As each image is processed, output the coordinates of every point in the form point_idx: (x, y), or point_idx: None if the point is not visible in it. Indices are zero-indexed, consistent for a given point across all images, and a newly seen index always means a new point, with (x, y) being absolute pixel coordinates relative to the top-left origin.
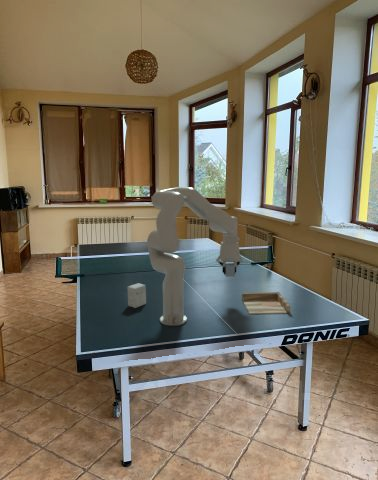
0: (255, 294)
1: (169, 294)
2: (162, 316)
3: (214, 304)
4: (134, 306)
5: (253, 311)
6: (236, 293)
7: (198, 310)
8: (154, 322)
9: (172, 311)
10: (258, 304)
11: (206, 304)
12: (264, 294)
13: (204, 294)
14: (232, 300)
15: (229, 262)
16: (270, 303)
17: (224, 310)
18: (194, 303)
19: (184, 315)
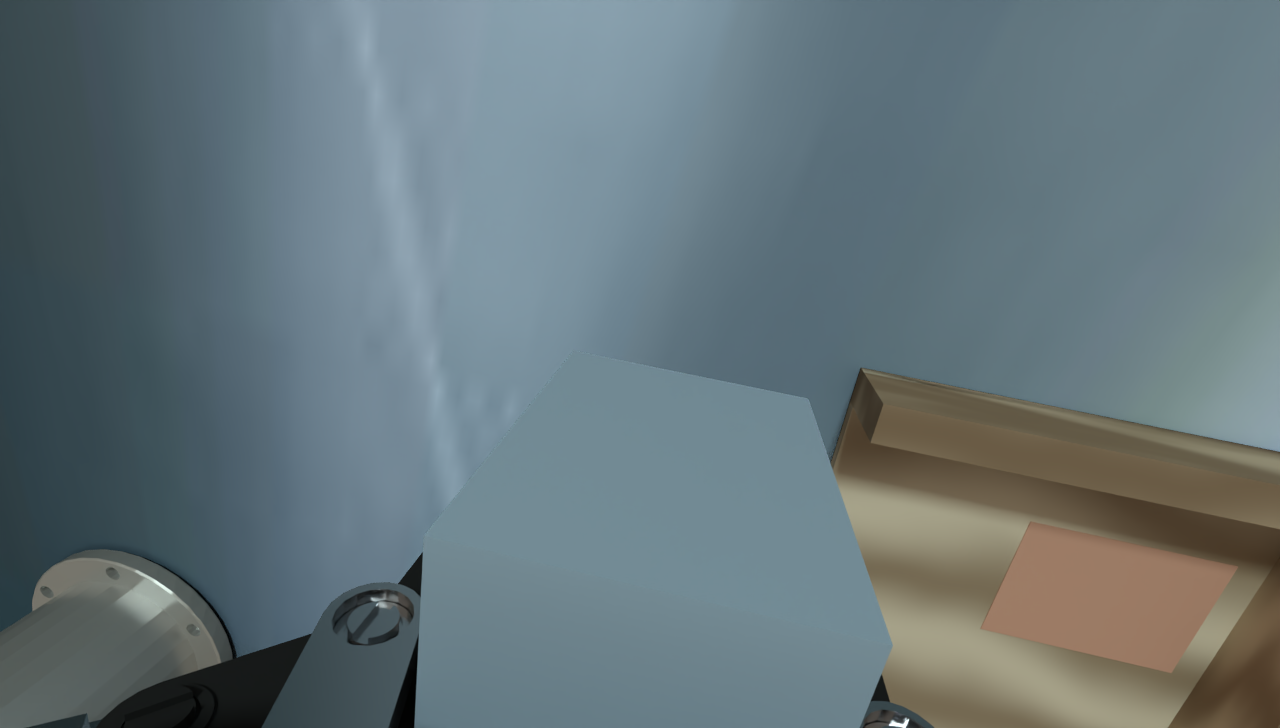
0: (1055, 478)
1: None
2: (41, 593)
3: (499, 411)
4: None
5: None
6: (916, 79)
7: (328, 509)
8: (23, 615)
9: None
10: (961, 579)
11: (417, 389)
12: (1191, 505)
13: (437, 21)
14: (737, 348)
15: (674, 663)
16: (1120, 596)
17: None
18: (296, 328)
19: (200, 627)
